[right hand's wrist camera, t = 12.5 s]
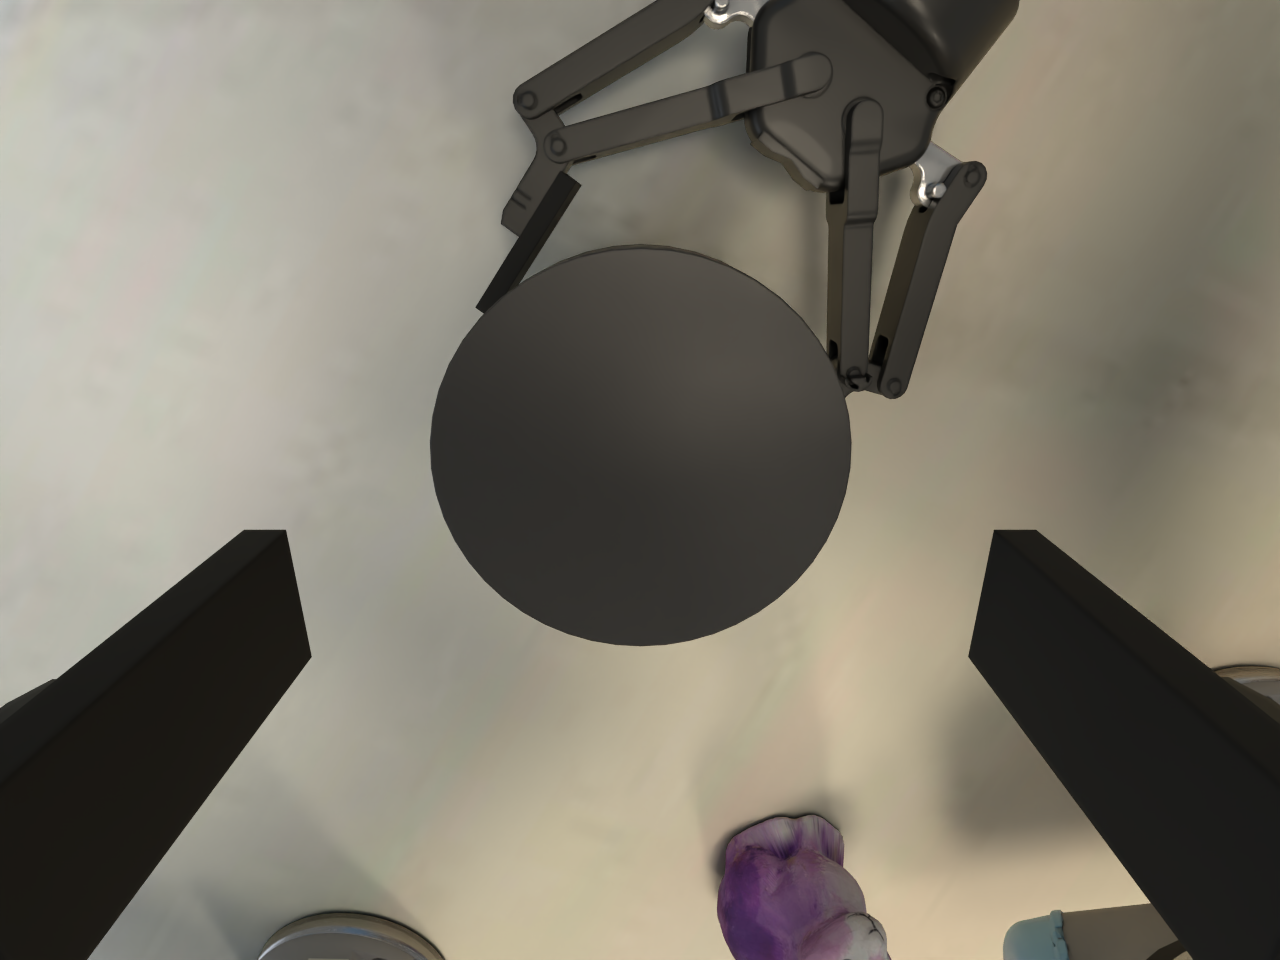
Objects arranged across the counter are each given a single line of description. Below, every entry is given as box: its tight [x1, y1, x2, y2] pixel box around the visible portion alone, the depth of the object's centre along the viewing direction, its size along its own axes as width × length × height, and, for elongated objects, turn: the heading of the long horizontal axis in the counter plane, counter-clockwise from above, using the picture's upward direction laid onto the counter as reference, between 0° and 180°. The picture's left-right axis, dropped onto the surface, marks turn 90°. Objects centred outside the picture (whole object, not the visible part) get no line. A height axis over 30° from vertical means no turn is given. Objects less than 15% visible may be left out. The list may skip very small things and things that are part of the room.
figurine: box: [717, 815, 891, 960], centre depth 43 cm, size 9×10×15 cm
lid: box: [430, 244, 852, 646], centre depth 20 cm, size 12×12×2 cm
